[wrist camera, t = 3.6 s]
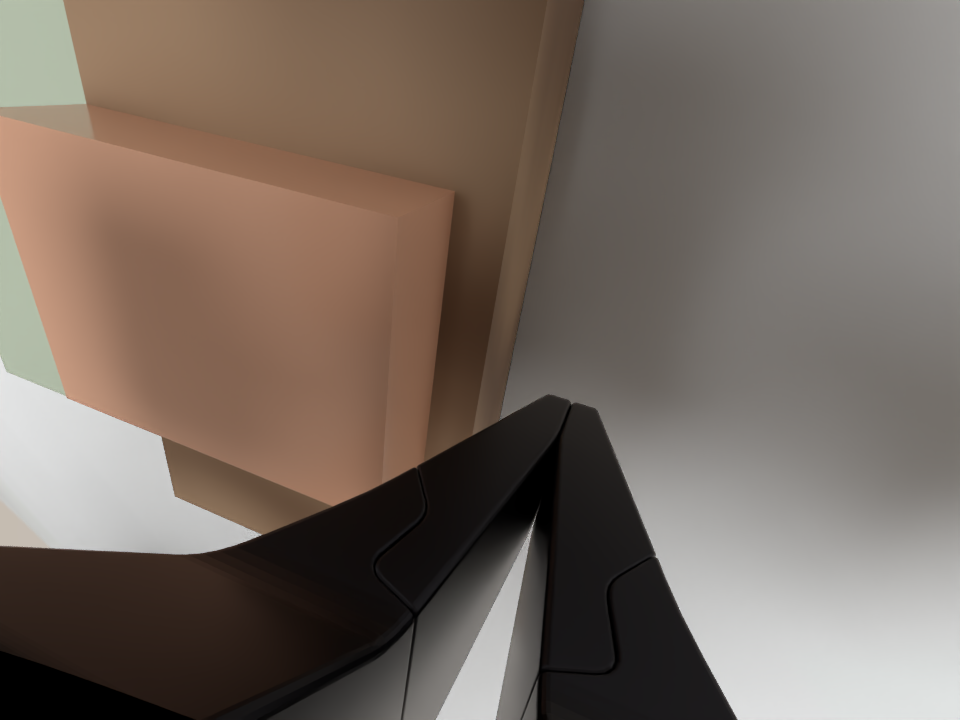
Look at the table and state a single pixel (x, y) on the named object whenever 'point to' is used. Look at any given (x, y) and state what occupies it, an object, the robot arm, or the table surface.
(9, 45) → the green mat
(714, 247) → the table surface
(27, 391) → the table surface
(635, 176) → the table surface
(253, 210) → the terracotta tile
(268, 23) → the walnut stand
